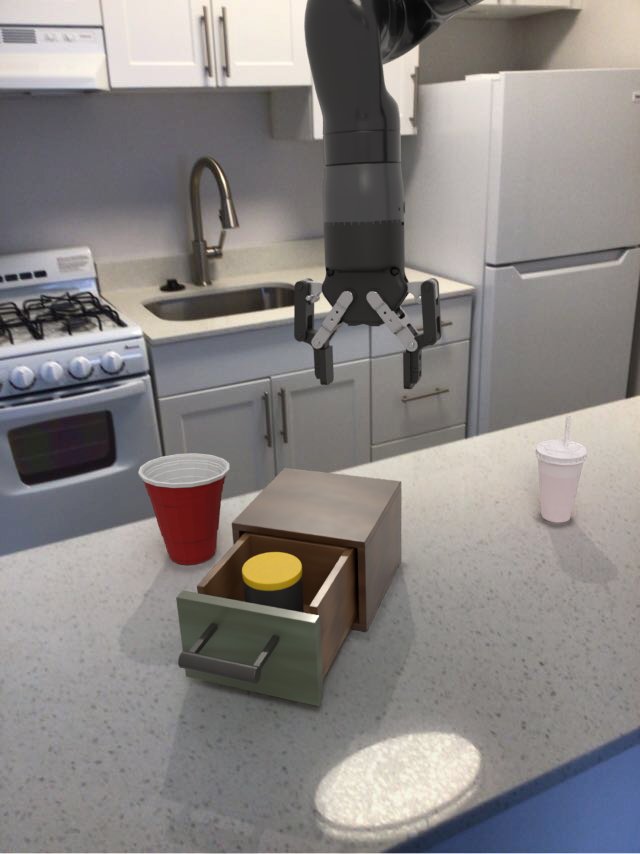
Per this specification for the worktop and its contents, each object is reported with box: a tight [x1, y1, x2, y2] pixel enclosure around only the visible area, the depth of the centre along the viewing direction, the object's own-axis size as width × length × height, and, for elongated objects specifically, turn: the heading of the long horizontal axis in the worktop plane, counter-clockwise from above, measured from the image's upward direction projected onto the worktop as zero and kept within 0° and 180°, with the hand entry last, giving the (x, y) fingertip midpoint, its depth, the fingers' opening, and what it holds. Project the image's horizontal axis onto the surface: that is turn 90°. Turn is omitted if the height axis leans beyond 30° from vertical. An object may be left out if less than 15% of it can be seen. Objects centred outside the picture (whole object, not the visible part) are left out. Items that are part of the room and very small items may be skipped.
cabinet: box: [231, 467, 402, 633], centre depth 85 cm, size 15×15×11 cm
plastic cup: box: [137, 452, 230, 566], centre depth 92 cm, size 11×11×12 cm
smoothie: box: [534, 415, 588, 524], centre depth 97 cm, size 6×6×14 cm
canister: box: [242, 552, 304, 613], centre depth 73 cm, size 6×6×8 cm
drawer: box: [175, 531, 357, 707], centre depth 71 cm, size 19×13×9 cm
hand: (367, 385), depth 75 cm, fingers open, 8 cm apart
